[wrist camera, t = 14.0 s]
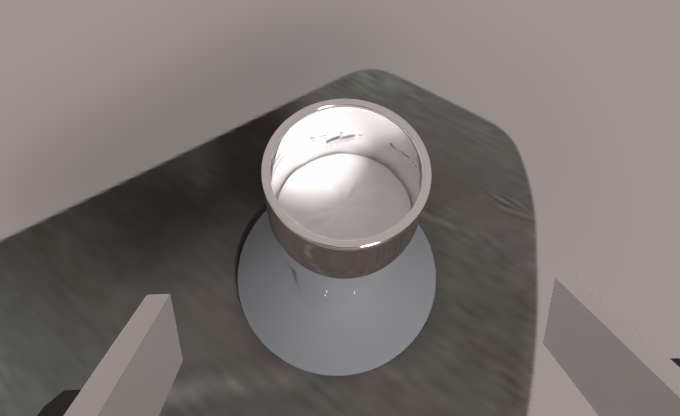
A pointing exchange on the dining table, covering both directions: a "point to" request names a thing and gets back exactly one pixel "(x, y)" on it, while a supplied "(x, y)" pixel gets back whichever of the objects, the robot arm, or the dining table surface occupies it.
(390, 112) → the beer glass
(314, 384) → the dining table surface
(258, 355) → the dining table surface
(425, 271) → the mat
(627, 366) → the robot arm
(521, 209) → the dining table surface
